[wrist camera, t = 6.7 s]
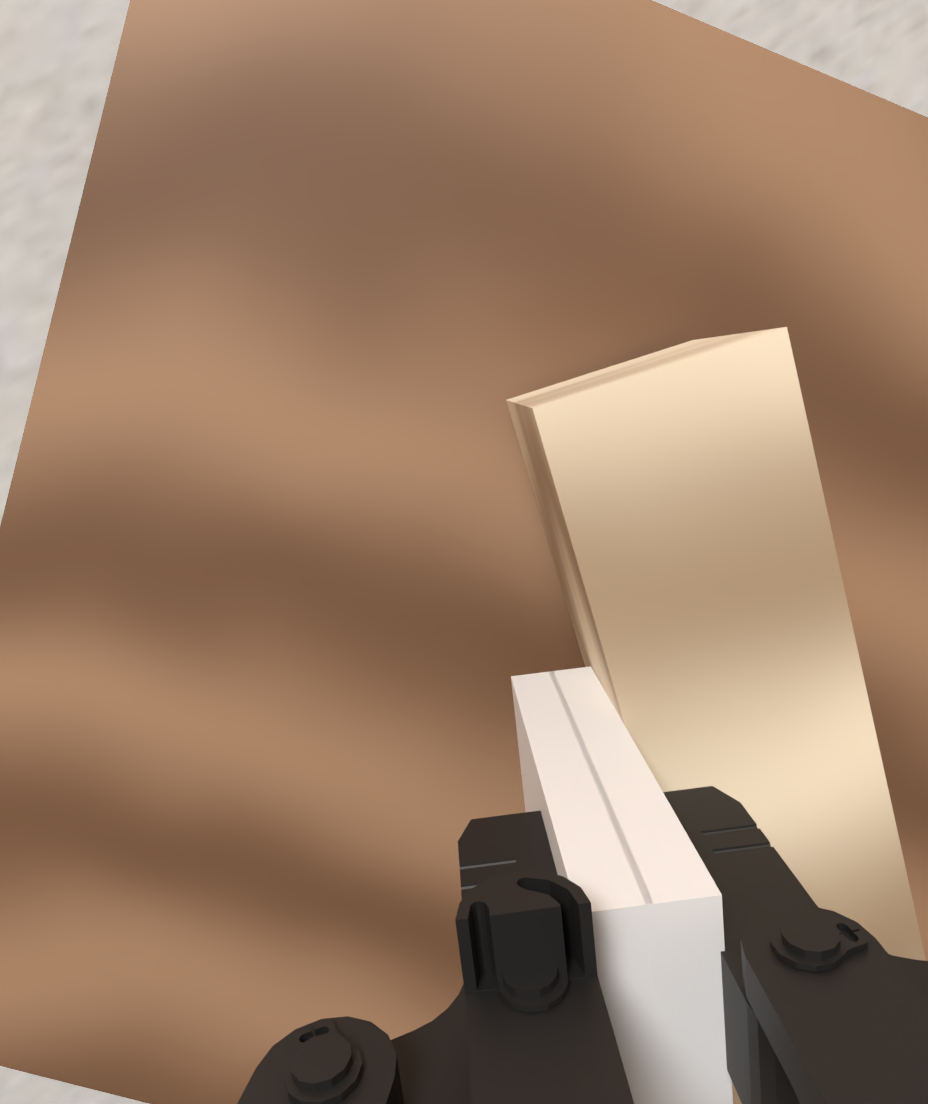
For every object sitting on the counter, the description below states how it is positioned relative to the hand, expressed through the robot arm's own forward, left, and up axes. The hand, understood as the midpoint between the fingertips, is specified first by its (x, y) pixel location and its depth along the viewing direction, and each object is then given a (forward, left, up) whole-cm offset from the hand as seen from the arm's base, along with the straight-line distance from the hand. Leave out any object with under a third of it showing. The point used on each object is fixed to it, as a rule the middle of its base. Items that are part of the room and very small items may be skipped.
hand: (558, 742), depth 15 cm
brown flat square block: (0, -1, -5) cm, 5 cm away
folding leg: (-1, -4, -2) cm, 5 cm away
